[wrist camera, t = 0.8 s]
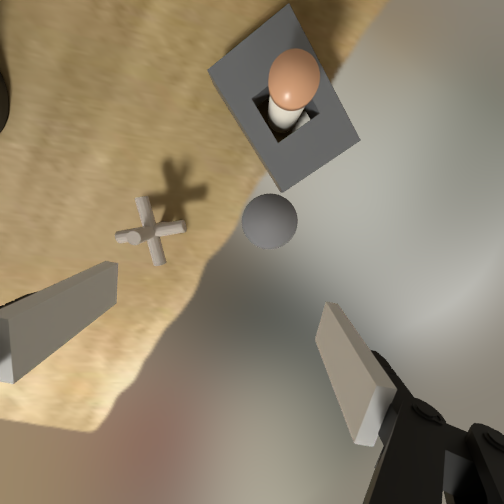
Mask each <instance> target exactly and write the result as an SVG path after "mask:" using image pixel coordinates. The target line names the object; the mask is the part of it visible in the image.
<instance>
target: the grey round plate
mask: <svg viewBox="0 0 504 504" xmlns="http://www.w3.org/2000/svg"><path fill="white" fill-rule="evenodd" d="M242 228H243V231H244V234H245V235H246V237H247V238H248V240H249V241H250V242H251V243H252V244H254V245H256V246H257V247H260V248H263V249H276V248H279V247H281V246H283V245H285V244H286V243H288V241H290V239H291V238H292V237H293V235H294V234H295V231H296V228H297V214H296V211H295V209H294V207H293V205H292V204H291V203H290V202H289V201H288V200H287V199H286V198H284V197H282V196H280V195H276V194H264V195H260V196H258V197H256V198H254V199H253V200H252V201H251V202H250V203H249V204H248V205H247V206H246V208H245V210H244V213H243V216H242Z"/></svg>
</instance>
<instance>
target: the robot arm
mask: <svg viewBox="0 0 504 504" xmlns="http://www.w3.org/2000/svg"><path fill="white" fill-rule="evenodd" d="M8 104H9V103H8V94H7V89H6V85H5V82H4V79H3V77H2V75H1V72H0V132H1V130H2V129H3V127H4V125H5V122H6V119H7V115H8ZM117 277H118V263H114V262H109V261H105V262H102V263H100V264H98V265H96V266H94V267H91V268H89V269H87V270H85V271H83V272H80V273H78V274H76V275H74V276H72V277H69V278H67V279H65V280H63V281H61V282H58V283H56V284H54V285H52V286H50V287H47V288H45V289H43V290H41V291H38V292H34V293H30V294H27V295H24V296H22V297H20V298H18V299H15V301H11V302H9V303H6V304H5V305H2V306H0V382H6V383H11V384H14V383H15V382H17V381H18V380H19V379H21V378H22V377H23V376H24V375H26V374H27V373H28V372H29V371H31V370H32V369H33V368H35V367H36V366H37V365H38V364H40V363H41V362H42V361H43V360H45V359H46V358H47V357H49V356H50V355H51V354H52V353H54V352H55V351H56V350H57V349H59V348H60V347H61V346H63V345H64V344H65V343H66V342H68V341H69V340H70V339H71V338H73V337H74V336H75V335H77V334H78V333H79V332H80V331H82V330H83V329H84V328H85V327H87V326H88V325H89V324H91V323H92V322H93V321H94V320H96V319H97V318H98V317H99V316H101V315H102V314H103V313H105V312H106V311H107V310H108V309H110V308H111V307H112V306H113V305H115V304H116V299H117ZM315 341H316V343H317V346H318V349H319V351H320V354H321V357H322V359H323V362H324V365H325V367H326V370H327V373H328V375H329V378H330V381H331V383H332V386H333V389H334V391H335V394H336V397H337V399H338V402H339V405H340V407H341V410H342V413H343V415H344V418H345V421H346V423H347V426H348V429H349V431H350V434H351V437H352V439H353V441H354V444H360V445H366V446H372V447H373V446H374V444H375V442H376V439H377V437H378V435H379V437H380V439H381V441H382V442H383V445H384V447H383V449H382V451H381V454H380V456H379V458H378V461H377V463H376V465H375V471H374V473H373V476H372V479H371V482H370V485H369V488H368V490H367V493H366V496H365V498H364V502H363V504H442V492H443V491H444V494H445V499H446V503H447V504H504V435H502V433H500V432H499V431H497V430H494V429H492V428H490V427H489V426H486V425H483V424H479V423H474V424H473V425H471V427H470V429H469V431H468V432H466V431H464V430H461V429H459V428H456V427H454V426H451V425H449V424H447V423H446V421H445V420H444V418H443V417H442V415H441V414H440V413H439V412H438V411H437V410H436V409H435V408H433V407H432V406H430V405H429V404H427V403H426V402H424V401H422V400H420V399H417V398H414V397H413V395H412V394H411V393H410V391H409V390H408V389H407V387H406V386H405V385H404V383H403V382H402V381H401V379H400V378H399V377H398V376H397V375H396V373H395V372H394V370H393V369H391V366H390V365H389V363H388V362H387V361H386V359H385V358H383V357H382V356H381V355H380V354H379V353H377V352H376V351H372V350H370V349H369V348H368V346H367V345H366V344H365V342H364V341H363V339H362V338H361V336H360V335H359V334H358V332H357V331H356V329H355V328H354V326H353V325H352V323H351V322H350V321H349V319H348V318H347V316H346V315H345V313H344V312H343V311H342V309H341V308H340V306H339V305H338V304H335V303H330V302H326V303H325V307H324V310H323V314H322V317H321V321H320V324H319V327H318V331H317V334H316V338H315Z"/></svg>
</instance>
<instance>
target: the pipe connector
mask: <svg viewBox="0 0 504 504" xmlns="http://www.w3.org/2000/svg"><path fill="white" fill-rule="evenodd" d="M135 201H136V205H137V208H138V212H139V215H140V218H141V222H142V225H143V227H139V228H133V229H127V230H122V231H117V232H116V233H115V239H116V240H117V242H118V243H125V242H129V243H130V244H132V245H138V244H140V243H142V242H145V241H147V243H148V246H149V250H150V253H151V257H152V260H153V264H154V266H159V265H163V264H165V263H166V259H165V255H164V251H163V248H162V244H161V240H160V236H166V235H172V234H177V233H183V232H186V229H187V228H186V223H185V221H184V220H178V221H173V222H165V221H163V222H160V223H156V222H155V218H154V215H153V211H152V207H151V204H150V200H149V197H148V196H144V197H138V198H135Z"/></svg>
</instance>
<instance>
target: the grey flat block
mask: <svg viewBox="0 0 504 504" xmlns="http://www.w3.org/2000/svg"><path fill="white" fill-rule="evenodd" d="M289 49H302V50H305V51H307V52H308V53H310V54H311V55H312V56H313V57H314V58H315V60H316V62H317V64H318V67H319V71H320V82H319V86H318V89H317V91H316V93H315V95H314V97H313V98H312V100H311V101H310V102H309V103H308V104H307V105H306V106H305V107H304V109H305V110H306V112H307V114H308V116H309V118H310V119H311V120H310V121H308V122H307V123H306V124H304V125H303V126H301V127H300V128H299V129H297V130H296V131H294V132H293V133H292V134H290V135H289V136H287V137H286V138H285V139H283V140H282V141H280V142H279V143H278V142H277V141H276V139H275V137H274V136H273V134H272V132H271V131H270V129H269V127H268V126H267V124H266V122H265V121H264V119H263V117H262V116H261V114H260V112H259V111H258V109H257V106H259V105H260V104H261V103H263V102H264V101H265V100H267V99H268V98H269V97H270V94H269V90H268V79H269V72H270V68H271V66H272V64H273V62H274V60H275V59H276V58H277V57H278V56H279V55H280V54H281V53H283V52H284V51H286V50H289ZM208 73H209V75H210V77H211V80H212V82H213V84H214V86H215V88H216V89H217V91H218V93H219V94H220V96H221V98H222V99H223V101H224V102H225V104H226V106H227V107H228V109H229V110H230V112H231V114H232V115H233V117H234V118H235V120H236V122H237V123H238V125H239V126H240V128H241V130H242V131H243V133H244V134H245V136H246V138H247V139H248V141H249V142H250V144H251V146H252V147H253V149H254V151H255V152H256V154H257V155H258V157H259V159H260V160H261V162H262V163H263V165H264V167H265V168H266V170H267V171H268V173H269V175H270V176H271V178H272V179H273V181H274V183H275V184H276V186H277V187H278V189H279V191H280V192H284V191H286V190H287V189H289V188H290V187H292V186H293V185H295V184H296V183H298V182H299V181H301V180H302V179H304V178H305V177H307V176H308V175H310V174H311V173H312V172H314V171H316V170H317V169H319V168H320V167H322V166H323V165H325V164H326V163H328V162H329V161H331V160H332V159H334V158H335V157H337V156H338V155H340V154H341V153H342V152H344V151H345V150H347V149H348V148H350V147H351V146H353V145H354V144H356V143H357V142H359V141H360V138H359V137H358V134H357V132H356V131H355V129H354V127H353V125H352V123H351V121H350V119H349V117H348V115H347V113H346V111H345V109H344V108H343V106H342V104H341V102H340V100H339V98H338V96H337V94H336V92H335V90H334V88H333V87H332V85H331V83H330V81H329V79H328V77H327V75H326V73H325V71H324V69H323V67H322V66H321V64H320V62H319V60H318V58H317V56H316V54H315V52H314V50H313V48H312V46H311V44H310V43H309V41H308V39H307V37H306V35H305V33H304V31H303V29H302V27H301V25H300V23H299V22H298V20H297V18H296V16H295V14H294V12H293V10H292V8H291V6H290V4H289V3H288V4H287V5H286V6H285V7H283V8H282V9H281V10H280V11H279V12H277V13H276V14H275V15H274V16H272V17H271V18H270V19H269V20H268V21H266V22H265V23H264V24H263V25H261V26H260V27H259V28H258V29H257V30H255V31H254V32H253V33H252V34H251V35H249V36H248V37H247V38H246V39H244V40H243V41H242V42H241V43H240V44H238V45H237V46H236V47H235V48H233V49H232V50H231V51H230V52H229V53H227V54H226V55H225V56H224V57H223V58H221V59H220V60H219V61H218V62H216V63H215V64H214V65H213V66H212V67H210V68H209V69H208Z"/></svg>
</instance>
